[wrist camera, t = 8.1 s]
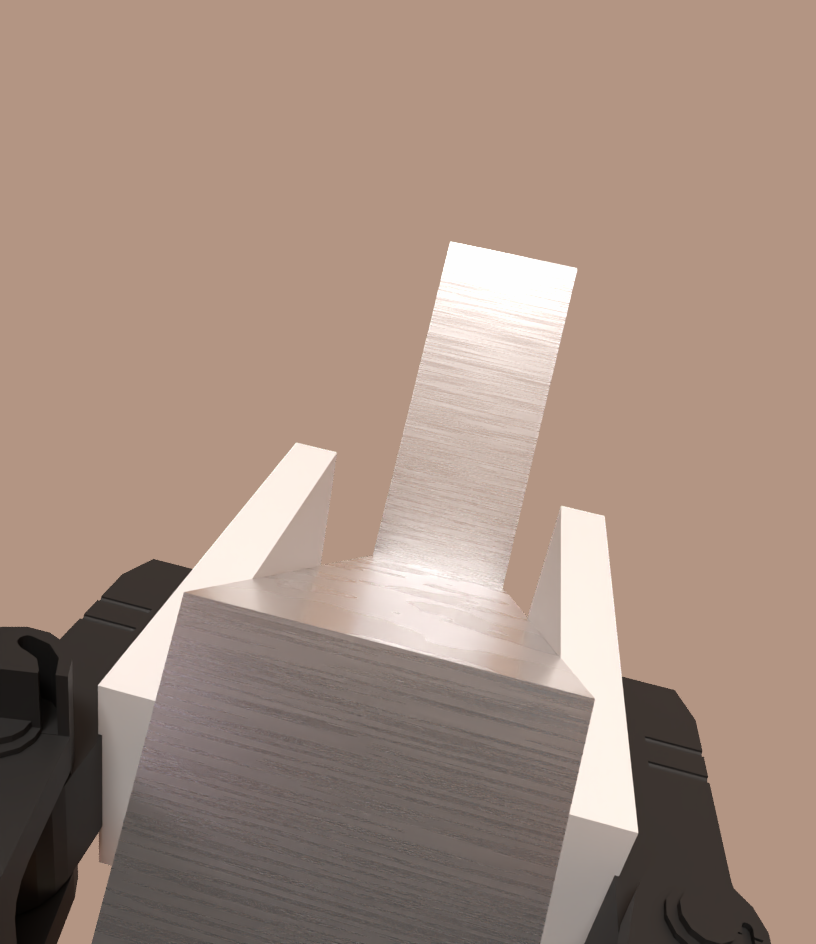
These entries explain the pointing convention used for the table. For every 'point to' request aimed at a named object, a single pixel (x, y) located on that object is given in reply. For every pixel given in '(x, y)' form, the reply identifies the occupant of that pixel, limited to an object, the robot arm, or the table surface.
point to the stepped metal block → (377, 690)
